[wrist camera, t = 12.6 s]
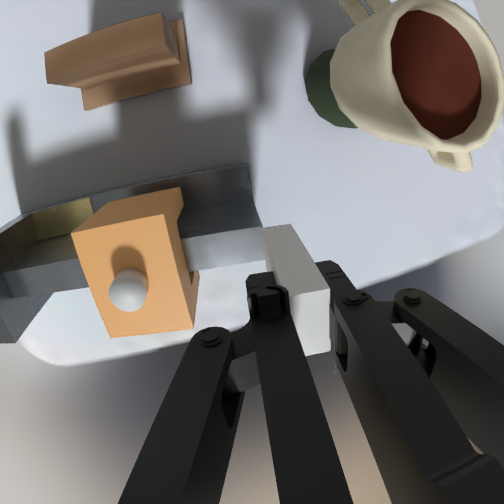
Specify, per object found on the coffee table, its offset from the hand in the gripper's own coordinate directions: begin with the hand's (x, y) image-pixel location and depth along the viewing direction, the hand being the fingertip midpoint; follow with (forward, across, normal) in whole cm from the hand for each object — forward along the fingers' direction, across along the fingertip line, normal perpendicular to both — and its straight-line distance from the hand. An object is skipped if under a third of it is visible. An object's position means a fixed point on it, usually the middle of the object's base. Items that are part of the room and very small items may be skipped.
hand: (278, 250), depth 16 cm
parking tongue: (+8, -8, +12) cm, 17 cm away
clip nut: (+5, -8, 0) cm, 9 cm away
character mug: (+9, +8, +8) cm, 14 cm away
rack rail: (+8, -11, 0) cm, 14 cm away
